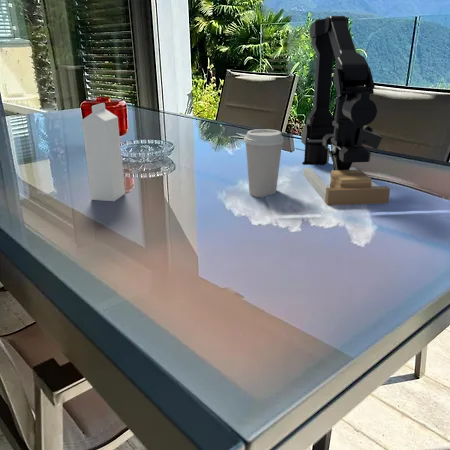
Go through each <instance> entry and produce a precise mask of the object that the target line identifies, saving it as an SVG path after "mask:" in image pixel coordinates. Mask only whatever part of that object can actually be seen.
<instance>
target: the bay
mask: <svg viewBox="0 0 450 450" xmlns="http://www.w3.org/2000/svg"><path fill="white" fill-rule="evenodd" d="M349 170H358V168H356V167H355V166H351V167H350V169H349ZM302 176H303V177H304V178H305V180H306V181H307V182H308V183H309V184H310V186H311V187H312V189H314V191H315V192H316V193H317V194H318V196H319V197H320V198H321V199H322V201H323V202H324V203H325V204H326V206H339V205H341V206H342V205H345V206H346V205H375V204H389V201H390V200H389V199H390V193H391V188H390V187H388V186H387V185H378V184H376V183H375V182H374V181H371V183H372V184H371V186H369V187H336V188H330V187H329V186H327V184H326V183H325V182H324V181H323V180H322V178H321V177H320V176H318V174H316V172H315V171H314V170H313V169H312V167H309V168H306V167H305V168H303V173H302Z"/></svg>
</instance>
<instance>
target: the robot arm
mask: <svg viewBox="0 0 450 450" xmlns="http://www.w3.org/2000/svg"><path fill="white" fill-rule="evenodd" d="M309 36H310V39H311V47H312V48H313V50H314V52H315V55H316V61H315V74H314V75H315V76H314V89H313V91H314V92H313V101H312V102H313V104H312V105H313V106H312V108H311V110H310V111H309V113H308V115H307V117H306V121H305V122H306V123H305V124H304V126H303V129H302V132H301V134H300V135H301V137H300V139H301V141H300V142H301V143H302V144H303V145H304V161H303V162H302V165H304V166H305V165H306V166H308V165H311V166H312V165H315V166H325V165H327V164H329V161H330V158H331V161H332V164H333V167H334V169H335V170H349V169H350V167H352V164H353V163H369V162H371V156H372V154H371V151H369V149H367V148H365V147H364V146H363V145H365V146H368V147H371V148H373V149H375V150H378V149H379V147H380V145H381V142H382V141H383V138H384V136H382V135H380V134H378V133H376V132H373V127H372V126H370V124H371V123H372V122H373V121H374V120H375V119H376V117H377V114H378V109H377V105H376V103H375V102H374V101H373V100H371V99H370V97H371V95H374V93H375V92H374V91H375V87H376V85H375V81H374V79H373V74H372V73H373V72H372V71H371V70H372V69H371V67H370V66H369V63H368V61H367V60H366V58H365V57H364V55H362V54H360V53H358V52H357V49H356V47H355V44H354V41H353V37H352V34H351V32H350V28H349V18H348V16H345V15H329V16H327V17H325V18H319V19H318V18H317V19H315V20H314V21H313V22H312V23H311V24H310V28H309ZM334 59H335V62H336V64H335V67H334V66H333V65H334ZM333 67H334V68H333ZM332 79H333V85H334V87H335V90H336V106H335V117H334V116H333V114H332V112H331V110H330V109H331V107H330V105H331V94H332V93H331V92H332ZM329 145H331V147H332V148H329Z"/></svg>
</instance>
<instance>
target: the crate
mask: <svg viewBox="0 0 450 450" xmlns="http://www.w3.org/2000/svg"><path fill="white" fill-rule="evenodd" d="M372 180H373V179H372V178H371V177H370V176H369V175H367V174H365V172H363V171H362V170H361V169H357V170H334V169H333V170H331V172H330V184H329V188H336V187H369V186H371V184H372V183H371V181H372ZM372 182H373V181H372Z"/></svg>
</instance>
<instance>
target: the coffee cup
mask: <svg viewBox="0 0 450 450" xmlns="http://www.w3.org/2000/svg"><path fill="white" fill-rule="evenodd" d="M243 143H245V151H246V166H247V176H248V177H247V178H248V191H249V195H250V196H252V197H256V198H261V199H263V198H266V196H271V195H274V194H276V193H277V187H278V181H279V179H278V178H279V171H280V170H279V169H280V162H281V155H282V154H281V153H282V146H283V144H284V143H285V139H284V136H283V135H282V132H281V130H276V129H268V128H267V129H266V128H265V129H264V128H261V129H260V128H259V129H251V130H248V131H247V132H246V134H245V136H244V138H243Z"/></svg>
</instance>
